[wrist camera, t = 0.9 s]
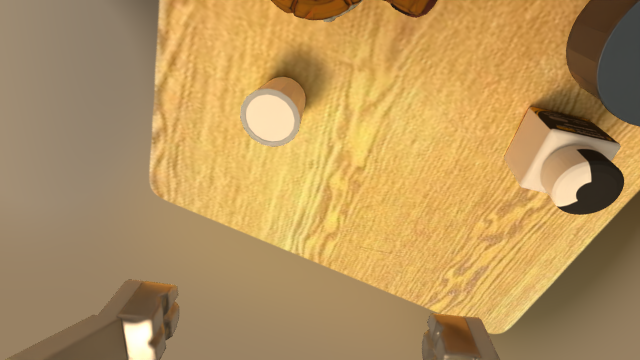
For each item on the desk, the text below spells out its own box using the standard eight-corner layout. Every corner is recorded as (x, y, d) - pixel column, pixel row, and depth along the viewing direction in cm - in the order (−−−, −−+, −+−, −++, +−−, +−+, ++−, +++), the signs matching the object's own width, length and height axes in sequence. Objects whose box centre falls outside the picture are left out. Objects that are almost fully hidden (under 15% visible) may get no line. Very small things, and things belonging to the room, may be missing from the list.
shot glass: (322, 99, 47) (313, 120, 41) (286, 134, 50) (273, 158, 44) (281, 59, 45) (265, 75, 39) (247, 97, 48) (227, 117, 42)
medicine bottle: (590, 119, 43) (653, 169, 33) (558, 171, 47) (606, 230, 37) (529, 105, 43) (573, 151, 33) (502, 158, 47) (534, 214, 37)
